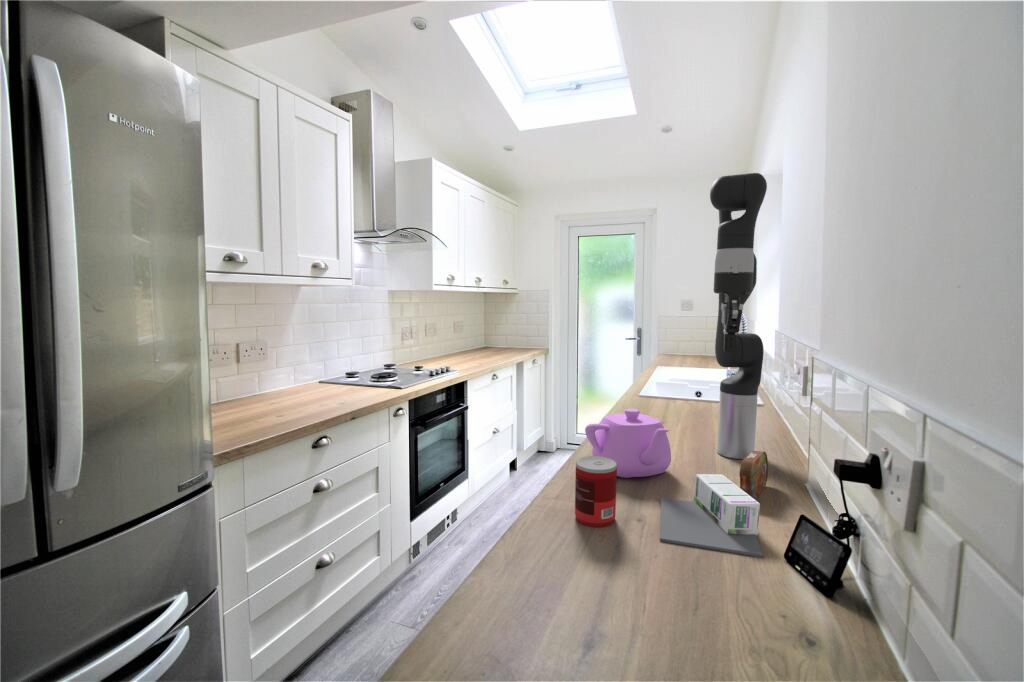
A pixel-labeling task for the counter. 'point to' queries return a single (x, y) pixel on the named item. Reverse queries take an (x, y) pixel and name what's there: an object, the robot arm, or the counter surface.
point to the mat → (701, 529)
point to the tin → (754, 473)
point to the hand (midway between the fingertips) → (729, 352)
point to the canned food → (595, 491)
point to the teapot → (631, 443)
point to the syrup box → (727, 504)
